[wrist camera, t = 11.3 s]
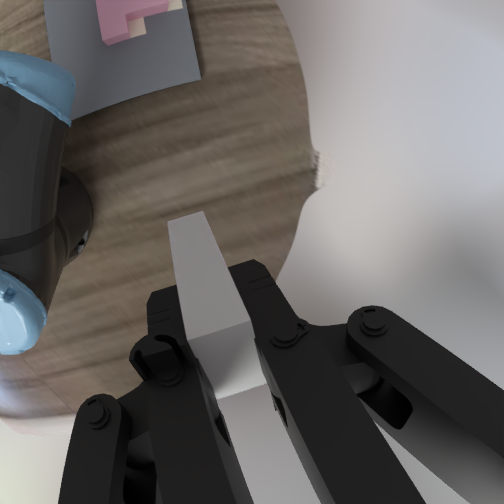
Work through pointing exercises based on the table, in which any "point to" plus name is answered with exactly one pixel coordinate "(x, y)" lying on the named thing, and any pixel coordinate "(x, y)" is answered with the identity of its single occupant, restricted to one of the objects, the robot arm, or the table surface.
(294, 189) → the table surface
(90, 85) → the board
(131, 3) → the t block
